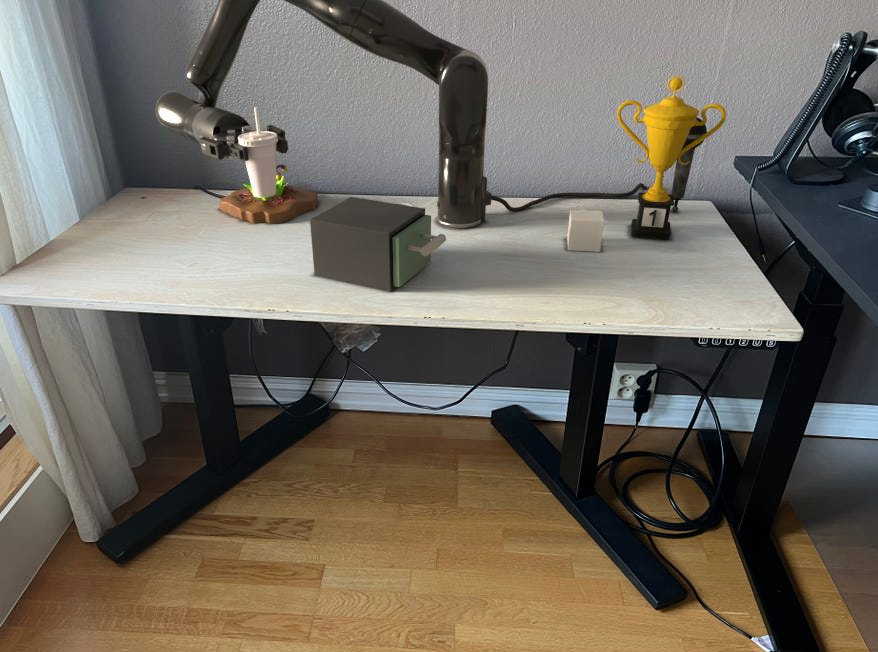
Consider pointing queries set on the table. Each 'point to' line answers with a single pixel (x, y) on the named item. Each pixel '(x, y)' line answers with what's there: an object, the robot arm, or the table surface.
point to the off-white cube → (585, 230)
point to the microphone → (684, 170)
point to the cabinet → (359, 240)
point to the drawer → (413, 249)
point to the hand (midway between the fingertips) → (266, 150)
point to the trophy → (664, 154)
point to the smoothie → (261, 159)
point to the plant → (269, 202)
